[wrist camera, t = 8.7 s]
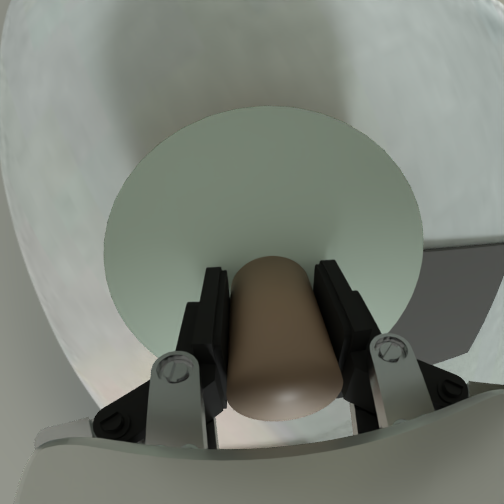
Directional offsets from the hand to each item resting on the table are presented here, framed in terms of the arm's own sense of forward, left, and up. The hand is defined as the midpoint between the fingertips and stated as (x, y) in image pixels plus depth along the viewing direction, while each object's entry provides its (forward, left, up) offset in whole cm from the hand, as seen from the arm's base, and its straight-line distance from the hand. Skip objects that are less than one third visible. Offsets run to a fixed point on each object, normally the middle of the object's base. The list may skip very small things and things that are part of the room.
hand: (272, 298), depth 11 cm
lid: (0, 0, -1) cm, 1 cm away
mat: (-18, +10, -7) cm, 22 cm away
